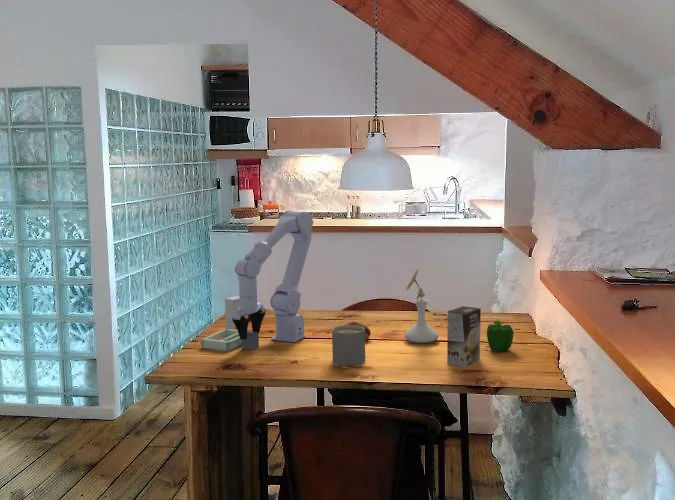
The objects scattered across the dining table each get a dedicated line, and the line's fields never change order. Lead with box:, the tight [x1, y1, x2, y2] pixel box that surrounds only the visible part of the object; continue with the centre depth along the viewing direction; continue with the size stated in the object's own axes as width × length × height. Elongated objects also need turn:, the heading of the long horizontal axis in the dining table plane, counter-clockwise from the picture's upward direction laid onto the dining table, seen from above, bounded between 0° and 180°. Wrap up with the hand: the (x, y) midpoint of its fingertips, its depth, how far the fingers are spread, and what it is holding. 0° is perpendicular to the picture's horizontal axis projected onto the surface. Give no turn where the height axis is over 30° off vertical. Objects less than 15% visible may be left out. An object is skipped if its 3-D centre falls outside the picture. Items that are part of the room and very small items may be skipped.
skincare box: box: [224, 295, 240, 330], centre depth 239 cm, size 6×4×12 cm
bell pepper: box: [486, 319, 515, 353], centre depth 208 cm, size 8×8×10 cm
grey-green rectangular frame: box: [200, 328, 242, 353], centre depth 222 cm, size 11×14×3 cm
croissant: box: [343, 321, 372, 341], centre depth 224 cm, size 21×10×8 cm, turn 166°
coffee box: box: [446, 305, 482, 368], centre depth 196 cm, size 9×6×16 cm
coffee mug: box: [331, 324, 366, 367], centre depth 202 cm, size 13×10×10 cm
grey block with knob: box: [241, 329, 260, 351], centre depth 217 cm, size 4×4×6 cm
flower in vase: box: [404, 268, 440, 344], centre depth 218 cm, size 13×11×25 cm
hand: (249, 336), depth 217 cm, fingers open, 7 cm apart
